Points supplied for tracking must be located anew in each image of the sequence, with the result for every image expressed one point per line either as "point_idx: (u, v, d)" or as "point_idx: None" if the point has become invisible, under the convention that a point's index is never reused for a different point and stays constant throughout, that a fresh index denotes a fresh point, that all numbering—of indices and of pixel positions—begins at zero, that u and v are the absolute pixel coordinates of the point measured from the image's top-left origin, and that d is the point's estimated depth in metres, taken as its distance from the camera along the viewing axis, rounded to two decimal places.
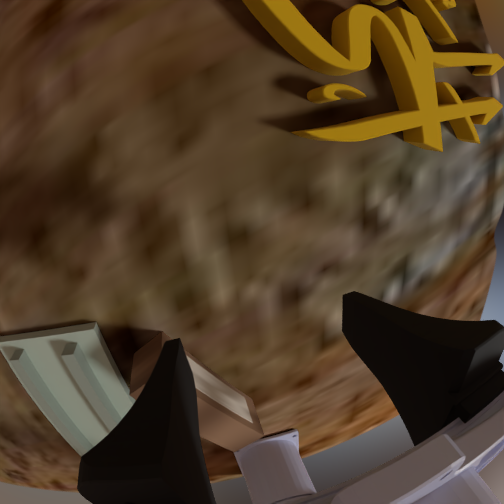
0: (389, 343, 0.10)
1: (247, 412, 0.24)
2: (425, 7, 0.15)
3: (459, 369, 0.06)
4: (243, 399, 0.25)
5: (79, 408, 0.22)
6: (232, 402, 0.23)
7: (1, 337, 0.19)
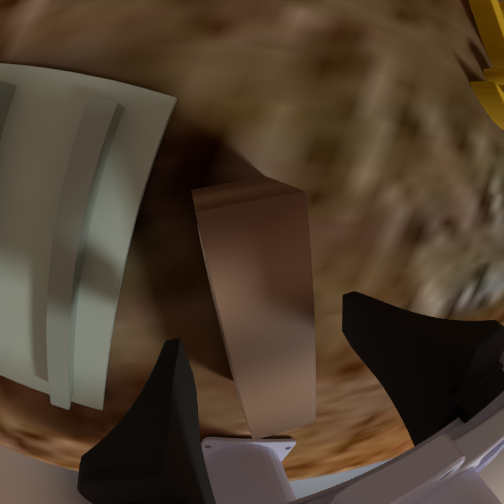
0: (389, 343, 0.10)
1: None
2: None
3: (459, 368, 0.06)
4: None
5: (14, 253, 0.11)
6: None
7: None
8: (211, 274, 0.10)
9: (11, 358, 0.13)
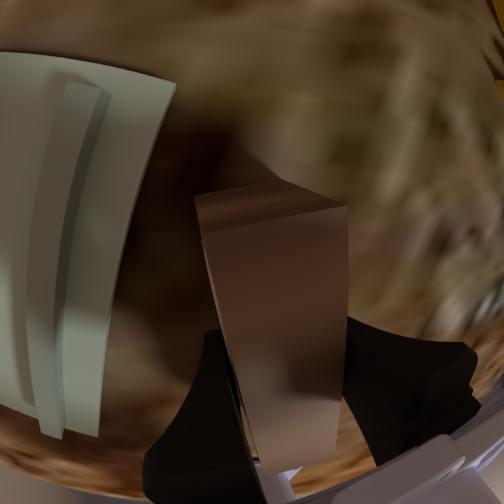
0: (349, 360, 0.09)
1: None
2: None
3: (414, 397, 0.06)
4: None
5: None
6: None
7: None
8: (223, 313, 0.07)
9: None
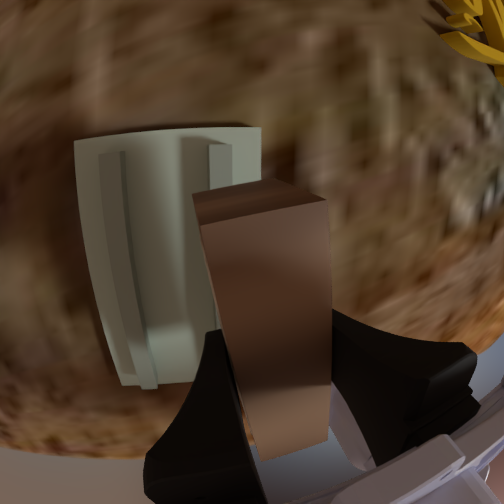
0: (348, 360, 0.09)
1: None
2: None
3: (413, 397, 0.06)
4: None
5: (168, 274, 0.18)
6: None
7: None
8: (217, 297, 0.08)
9: (174, 363, 0.21)
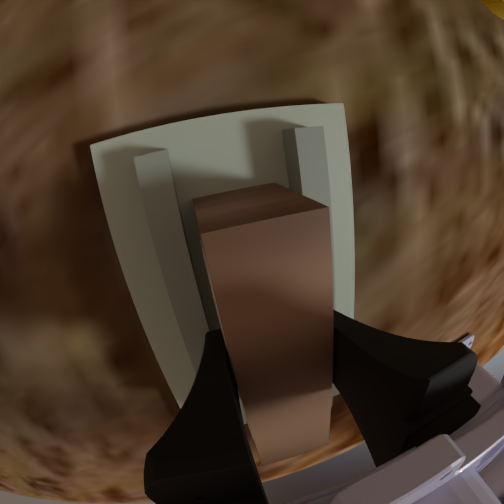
0: (348, 360, 0.09)
1: None
2: None
3: (413, 398, 0.06)
4: None
5: None
6: None
7: None
8: (218, 305, 0.08)
9: None
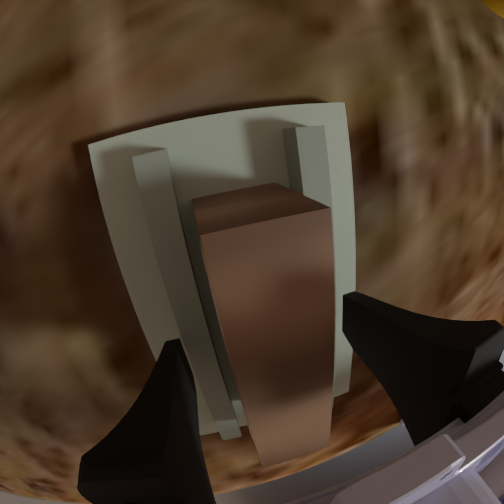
0: (389, 343, 0.10)
1: None
2: None
3: (459, 368, 0.06)
4: None
5: None
6: None
7: None
8: (218, 307, 0.08)
9: None
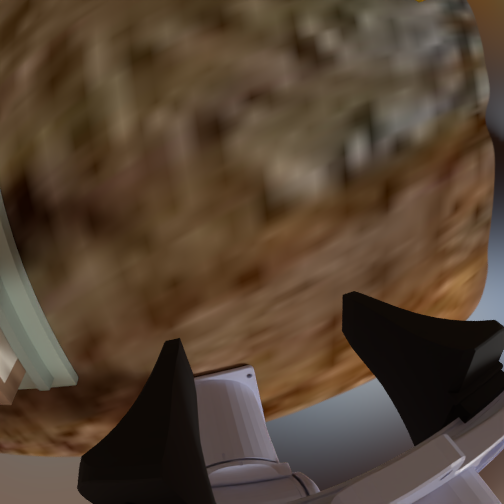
0: (389, 343, 0.10)
1: (7, 370, 0.15)
2: None
3: (459, 368, 0.06)
4: (13, 357, 0.17)
5: None
6: None
7: None
8: None
9: None
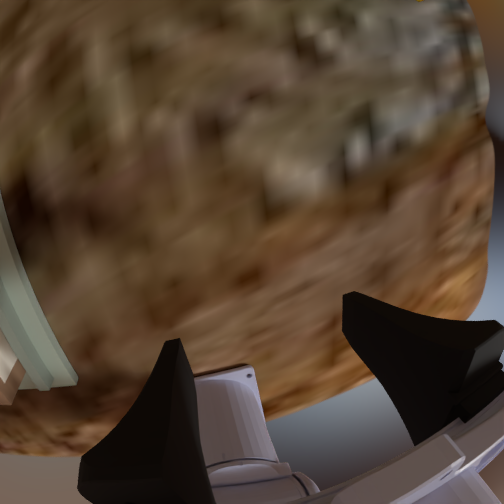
0: (389, 343, 0.10)
1: (7, 371, 0.15)
2: None
3: (459, 368, 0.06)
4: (13, 357, 0.17)
5: None
6: None
7: None
8: None
9: None
